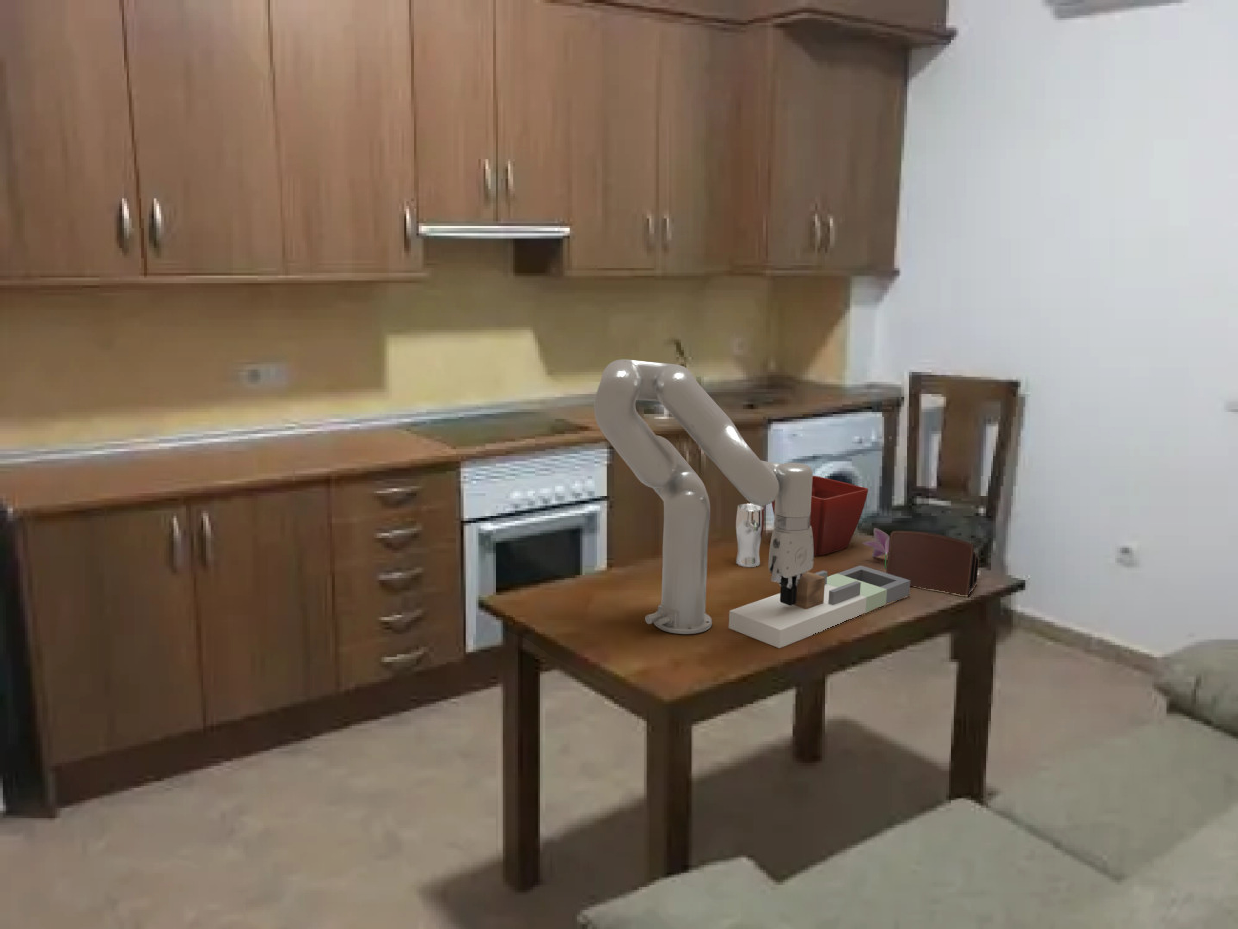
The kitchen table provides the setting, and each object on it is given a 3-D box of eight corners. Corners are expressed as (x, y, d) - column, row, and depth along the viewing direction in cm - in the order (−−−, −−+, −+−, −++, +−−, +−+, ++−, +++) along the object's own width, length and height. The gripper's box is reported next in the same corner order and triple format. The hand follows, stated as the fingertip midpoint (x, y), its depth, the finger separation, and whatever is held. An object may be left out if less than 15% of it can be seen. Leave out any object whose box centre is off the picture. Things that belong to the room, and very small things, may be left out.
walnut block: (806, 609, 227) (807, 583, 225) (784, 601, 231) (786, 575, 230) (823, 603, 231) (825, 577, 229) (802, 595, 235) (803, 570, 234)
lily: (919, 572, 268) (919, 535, 271) (895, 563, 260) (895, 525, 263) (878, 575, 276) (878, 539, 279) (853, 566, 268) (854, 530, 271)
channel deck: (779, 648, 216) (781, 616, 215) (728, 628, 226) (730, 597, 225) (909, 596, 247) (911, 568, 246) (859, 580, 257) (861, 553, 256)
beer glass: (741, 557, 273) (743, 501, 270) (765, 562, 270) (768, 506, 266) (729, 564, 267) (732, 508, 264) (754, 569, 264) (757, 512, 260)
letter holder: (968, 598, 247) (974, 541, 244) (884, 583, 257) (889, 527, 253) (976, 586, 256) (982, 530, 253) (895, 571, 265) (900, 517, 262)
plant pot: (810, 532, 297) (813, 474, 293) (865, 549, 282) (870, 488, 279) (764, 544, 285) (767, 484, 281) (819, 562, 270) (824, 499, 266)
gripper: (782, 532, 215) (778, 616, 219) (828, 519, 225) (823, 600, 229) (755, 524, 220) (751, 606, 225) (800, 511, 230) (796, 590, 234)
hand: (788, 603), depth 227 cm, fingers closed
